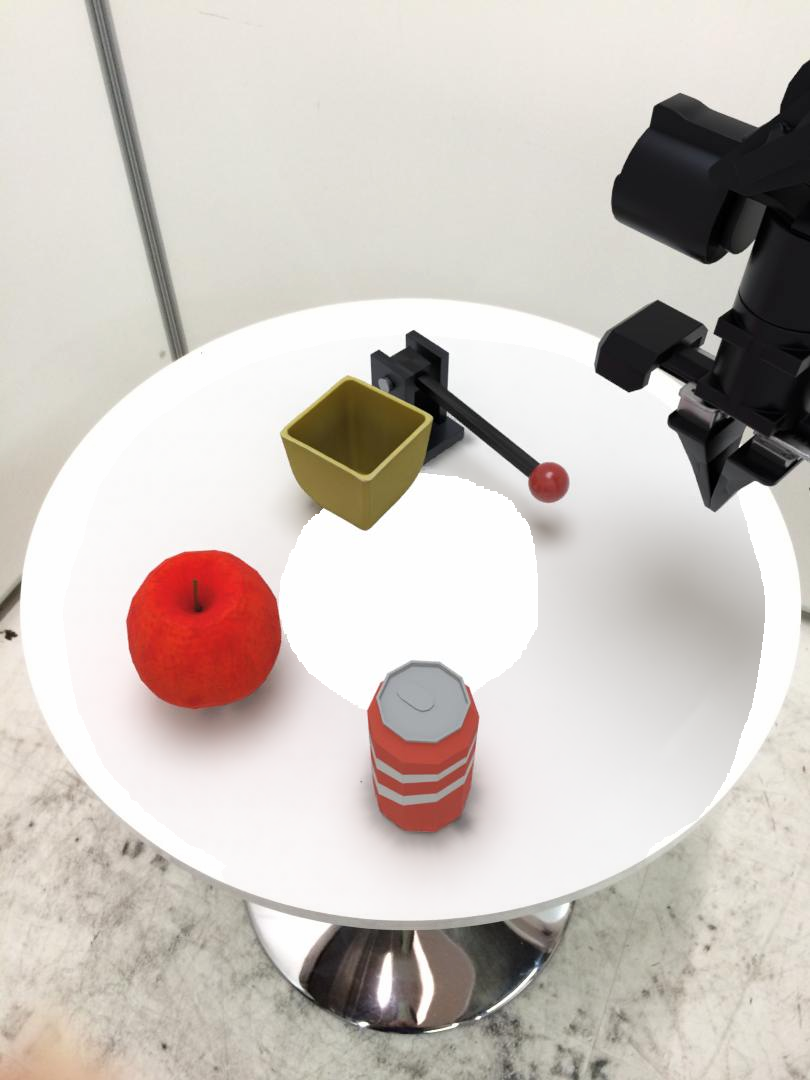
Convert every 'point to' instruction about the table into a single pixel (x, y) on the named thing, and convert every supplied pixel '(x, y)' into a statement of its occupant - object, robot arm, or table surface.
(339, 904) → the table surface
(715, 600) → the table surface
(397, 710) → the beverage can
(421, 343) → the bracket
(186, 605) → the apple
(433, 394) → the lever
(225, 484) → the table surface
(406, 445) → the flower pot
